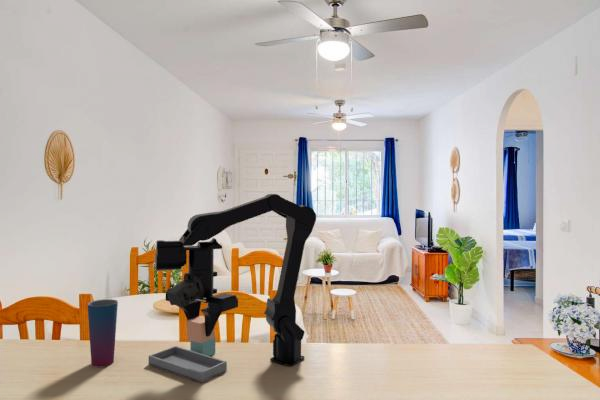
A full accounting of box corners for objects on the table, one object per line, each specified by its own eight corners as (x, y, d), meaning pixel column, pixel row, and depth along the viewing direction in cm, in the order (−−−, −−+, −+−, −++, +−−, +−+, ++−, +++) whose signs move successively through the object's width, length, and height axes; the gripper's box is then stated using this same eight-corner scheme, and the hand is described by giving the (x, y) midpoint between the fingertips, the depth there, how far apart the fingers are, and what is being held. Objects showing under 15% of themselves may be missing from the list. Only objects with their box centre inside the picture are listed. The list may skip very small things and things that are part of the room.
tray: (226, 370, 105) (226, 361, 105) (200, 383, 98) (200, 373, 98) (175, 354, 115) (175, 345, 115) (148, 364, 108) (148, 355, 108)
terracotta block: (214, 337, 104) (214, 318, 104) (200, 343, 101) (200, 323, 100) (201, 334, 107) (201, 315, 107) (186, 339, 103) (186, 320, 103)
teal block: (215, 353, 116) (215, 336, 116) (202, 359, 112) (202, 341, 112) (203, 350, 118) (203, 333, 118) (190, 355, 115) (190, 338, 115)
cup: (122, 358, 112) (122, 299, 111) (108, 369, 105) (108, 306, 104) (97, 357, 112) (97, 298, 112) (81, 367, 105) (81, 305, 105)
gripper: (146, 268, 102) (146, 335, 102) (204, 278, 91) (203, 353, 92) (183, 262, 111) (183, 324, 111) (239, 270, 101) (239, 338, 101)
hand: (200, 334), depth 104 cm, fingers closed on terracotta block, 4 cm apart
